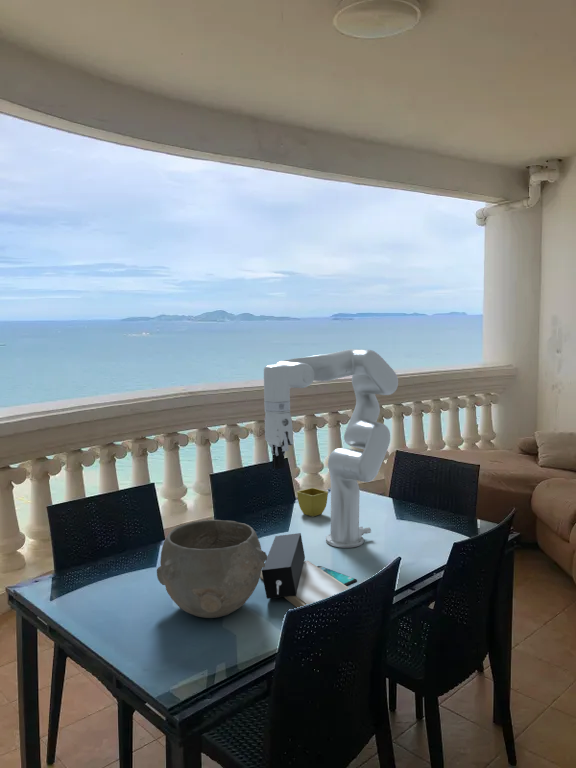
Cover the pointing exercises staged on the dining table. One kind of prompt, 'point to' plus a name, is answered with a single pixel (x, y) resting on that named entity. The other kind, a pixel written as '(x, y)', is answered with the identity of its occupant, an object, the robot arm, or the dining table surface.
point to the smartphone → (339, 576)
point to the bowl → (211, 566)
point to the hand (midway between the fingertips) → (278, 467)
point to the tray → (314, 585)
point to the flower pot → (312, 501)
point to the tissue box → (283, 566)
